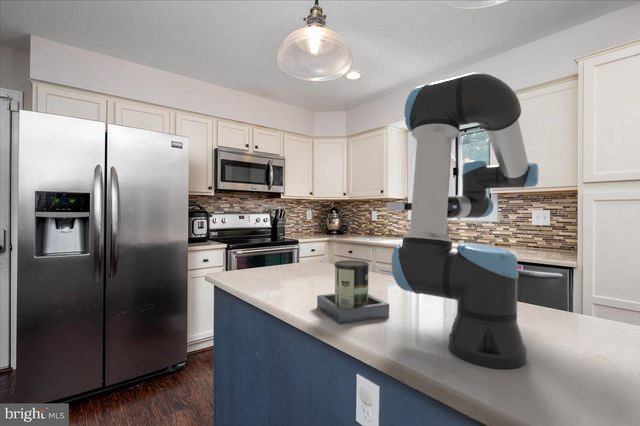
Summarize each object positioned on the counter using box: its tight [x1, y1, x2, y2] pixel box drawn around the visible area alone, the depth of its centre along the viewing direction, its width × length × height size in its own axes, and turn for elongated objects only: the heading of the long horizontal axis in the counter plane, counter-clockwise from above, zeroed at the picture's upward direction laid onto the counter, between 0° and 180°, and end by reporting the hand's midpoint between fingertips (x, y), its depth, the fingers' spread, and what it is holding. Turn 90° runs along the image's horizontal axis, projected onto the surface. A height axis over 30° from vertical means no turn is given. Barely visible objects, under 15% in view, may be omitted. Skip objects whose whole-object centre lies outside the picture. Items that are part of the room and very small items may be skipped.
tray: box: [316, 293, 390, 325], centre depth 98 cm, size 16×16×4 cm
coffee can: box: [334, 259, 370, 308], centre depth 98 cm, size 10×10×14 cm
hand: (400, 206), depth 100 cm, fingers open, 13 cm apart
